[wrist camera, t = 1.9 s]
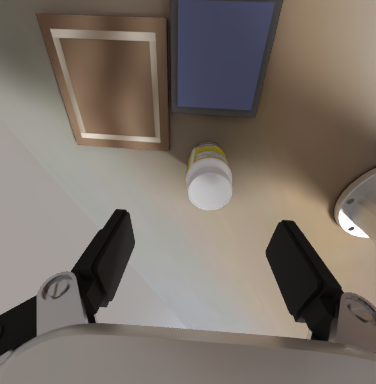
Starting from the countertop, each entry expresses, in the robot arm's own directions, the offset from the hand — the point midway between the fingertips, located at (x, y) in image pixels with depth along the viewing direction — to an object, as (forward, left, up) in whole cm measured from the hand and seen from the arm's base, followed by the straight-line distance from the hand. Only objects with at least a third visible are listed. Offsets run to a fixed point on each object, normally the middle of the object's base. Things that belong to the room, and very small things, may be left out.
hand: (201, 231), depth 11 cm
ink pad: (-1, -10, -13) cm, 16 cm away
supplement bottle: (-1, 0, -13) cm, 13 cm away
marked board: (+10, -7, -13) cm, 18 cm away
